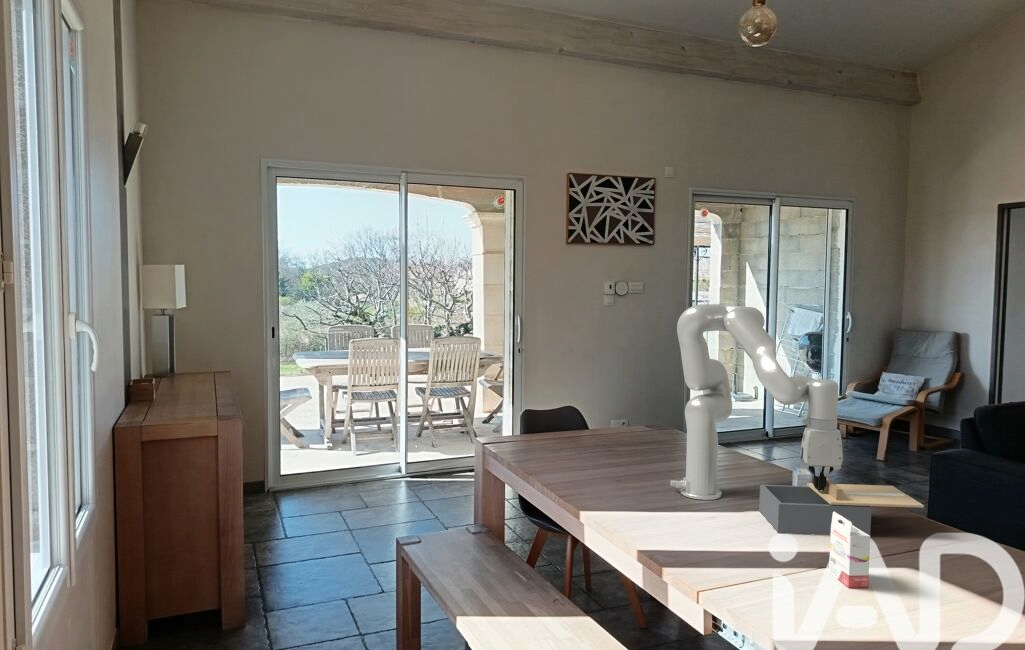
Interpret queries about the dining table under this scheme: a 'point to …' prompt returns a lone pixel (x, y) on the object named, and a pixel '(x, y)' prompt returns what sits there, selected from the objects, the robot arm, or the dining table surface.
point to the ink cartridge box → (849, 553)
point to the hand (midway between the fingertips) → (819, 489)
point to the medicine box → (801, 477)
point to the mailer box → (807, 511)
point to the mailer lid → (865, 495)
